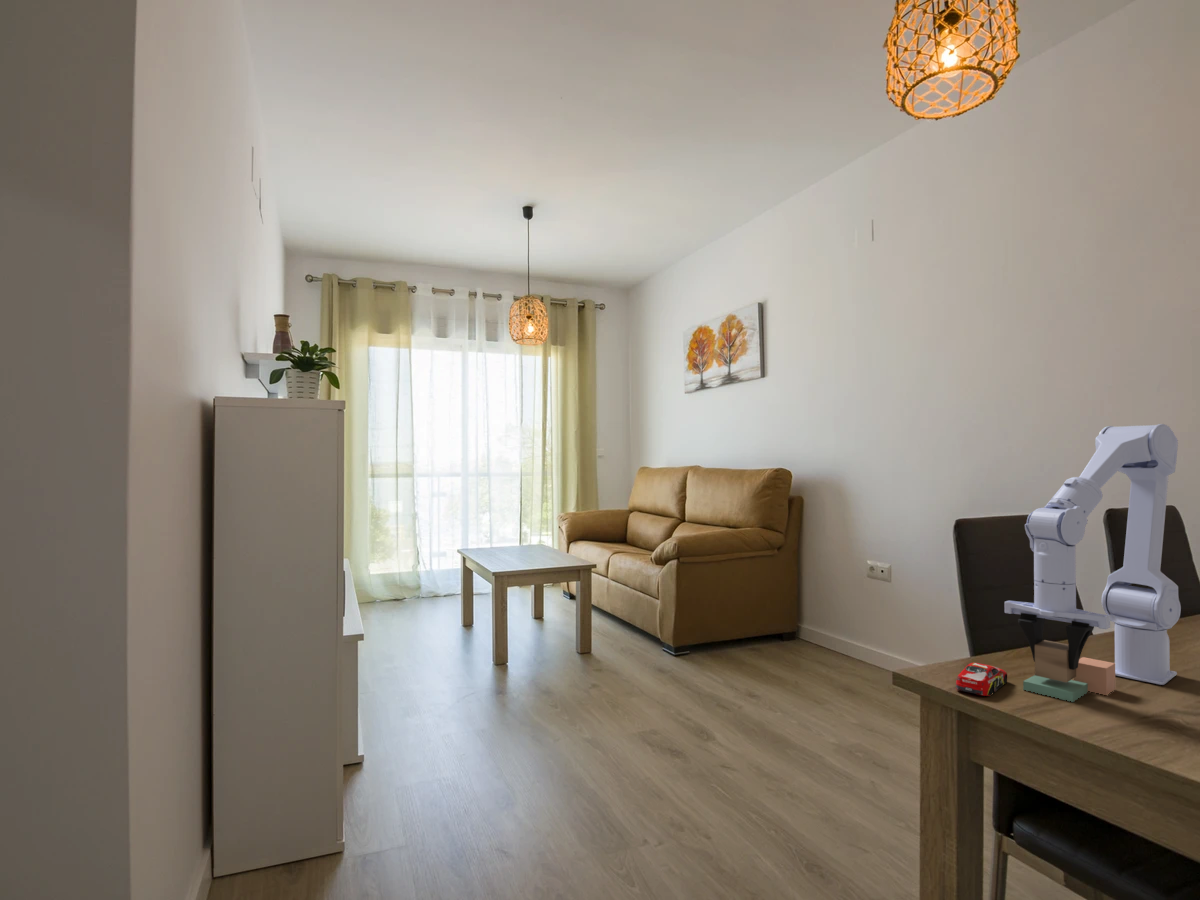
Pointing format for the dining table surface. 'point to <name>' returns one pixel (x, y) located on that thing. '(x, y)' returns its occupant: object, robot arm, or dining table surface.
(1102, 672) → the terracotta brick
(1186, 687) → the dining table surface
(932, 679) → the dining table surface
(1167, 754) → the dining table surface
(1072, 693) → the base plate
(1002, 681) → the race car
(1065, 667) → the walnut brick
